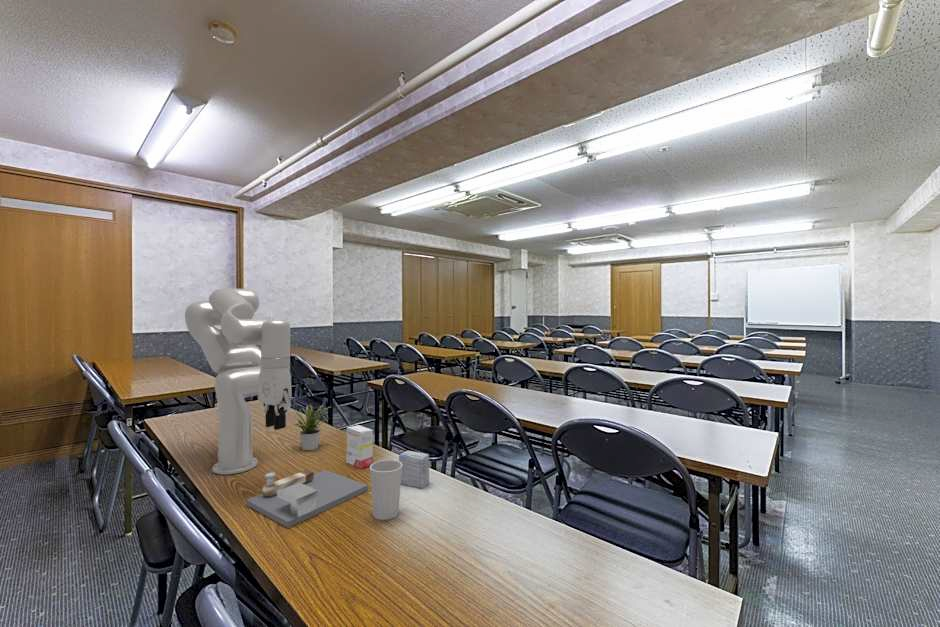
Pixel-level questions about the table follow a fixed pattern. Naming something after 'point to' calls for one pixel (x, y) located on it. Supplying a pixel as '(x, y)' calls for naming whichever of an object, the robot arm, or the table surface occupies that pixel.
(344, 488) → the board
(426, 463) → the medicine box
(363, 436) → the ink box
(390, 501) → the cup
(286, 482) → the link
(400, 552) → the table surface
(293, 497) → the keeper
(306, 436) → the house plant
